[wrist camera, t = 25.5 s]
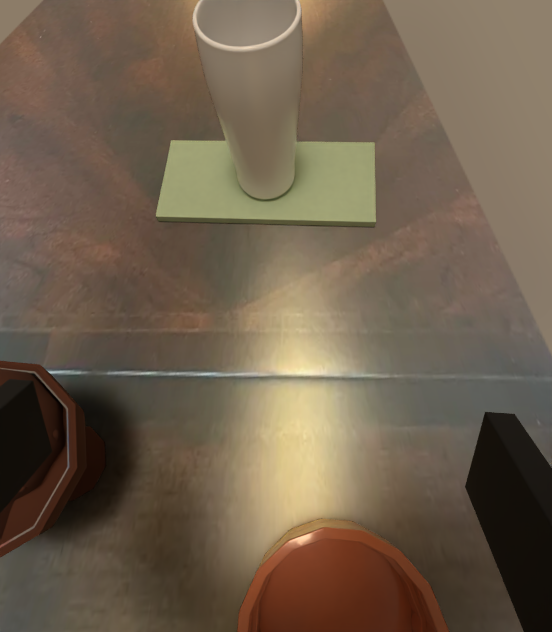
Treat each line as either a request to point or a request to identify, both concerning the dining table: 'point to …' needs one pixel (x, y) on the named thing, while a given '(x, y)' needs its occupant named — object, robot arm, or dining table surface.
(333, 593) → the pot
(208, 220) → the mat
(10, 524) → the ice cream bowl
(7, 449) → the robot arm
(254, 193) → the drinking glass
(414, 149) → the dining table surface
